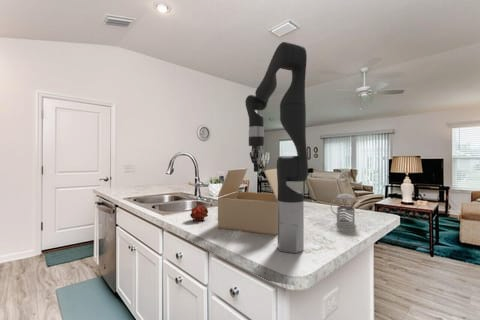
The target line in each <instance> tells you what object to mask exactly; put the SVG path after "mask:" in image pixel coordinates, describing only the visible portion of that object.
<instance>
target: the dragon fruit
mask: <svg viewBox="0 0 480 320" xmlns="http://www.w3.org/2000/svg"><path fill="white" fill-rule="evenodd" d="M190 211H191V212H190V213H189V214H190V215H189V216H190V218H191V219H192V221H193V222H198V221H199V220H200V221H201V222H203V220H205V218H206V217H207V218H208V216H209V214H208V213H209V211H208V208H207V207H206V205H203V206H202V205H201V204H198V206H197V205H195V206H194V208H192V209H191V210H190Z"/></svg>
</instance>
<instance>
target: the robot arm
mask: <svg viewBox="0 0 480 320" xmlns="http://www.w3.org/2000/svg"><path fill="white" fill-rule="evenodd" d="M307 55H308V54H307V50H306V48H305V47H304V46H302V45H300V44H298V43H297V44H296V43H292V42H289V41H282V42H281V43H279V45H278V46H277V47H276V49H275V51H274V53H273V55H272V56H271V57H272V58H271V59H270V62H269V65H268V67H267V69H266V71H265V74H264V77H263V79H262V80H261V82H260V83H259V84H258V86H257V88H256V89H255V95H254V94H249V95H248V96H247V97H246V98H245V108H246V111H247V117H248V146H249V147H251V151H249V157H250V160H251V163H252V164H253V173H254V172H255V173H257V172H259V171H260V163H262V158H263V152H262V149H261V147H264V146H265V129H264V116H263V115H261V114H259V113H257V111H263V110H266V108H267V106H268V103H269V100H270V98H271V96H272V95H273V93H274V92H275V91H276V89H277V85H278V82H277V72H278V71H279V70H280V69H282V70H286V71H291V82H290V85H289V87H288V89H287V90H286V91H285V93H284V95H283V96H282V99H281V101H280V104H279V117H280V118H279V119H280V123H281V125H282V127H283V129H284V130H285V132H286V133H287V134H288V135H289V138H290V139H291V141H292V142H293V145H294V147H295V150H296V155H279V156H278V158H277V160H276V169H277V182H278V208H277V210H278V235H277V249H278V251H279V252H284V253H291V254H298V253H301V252H303V251H304V248H305V247H304V241H305V239H304V236H305V235H304V231H305V229H304V226H305V224H304V223H305V221H304V218H305V217H304V216H305V214H304V207H305V206H304V204H305V203H304V199H305V198H304V197H305V196H304V193H303V192H302V191H299V190H297V189H294V188H292V187H290V186H288V184H287V182H294V183H295V182H298V183H299V182H305V181H307V179H308V176H309V166H308V165H309V164H308V163H309V161H308V153H307V152H308V151H307V139H306V134H307V133H306V129H307V127H306V126H307V125H306V123H307V122H306V118H307V112H306V111H307V109H306V73H307V72H306V71H307Z"/></svg>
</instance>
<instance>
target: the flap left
mask: <svg viewBox="0 0 480 320" xmlns="http://www.w3.org/2000/svg"><path fill="white" fill-rule="evenodd" d="M248 169H249V168H248V167H243V168H241V167H240V168H233V169H232V168H231V169H228V170H227V173H226V175H225V178H224V181H223V183H222V185H221V187H220V190H219V192H218V194H217V198H220V197H223V196H226V195H229V194H232V193H236V192H239V189H240V187H241V185H242V183H243V180H244V178H245V175H246V173H247V171H248Z"/></svg>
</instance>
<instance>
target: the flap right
mask: <svg viewBox="0 0 480 320" xmlns="http://www.w3.org/2000/svg"><path fill="white" fill-rule="evenodd" d="M263 172H264V175H265V178H266V180H267V182H268V184H269V186H270V189H271V191H272V194H274V195H275V198H276V200H277V201H278V182H277V168H270V169H266V170H263Z"/></svg>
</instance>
